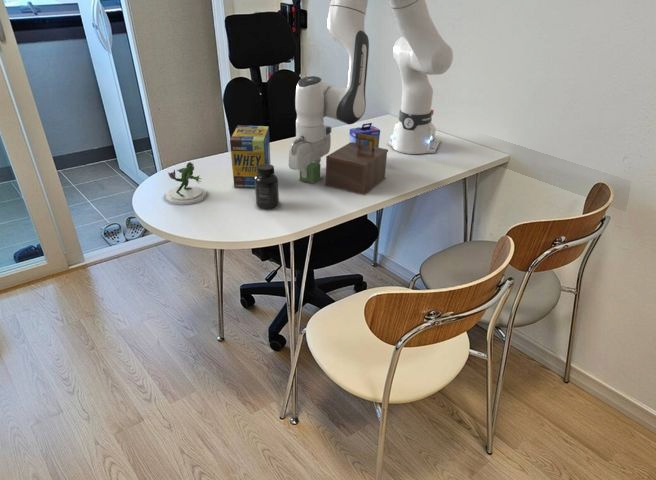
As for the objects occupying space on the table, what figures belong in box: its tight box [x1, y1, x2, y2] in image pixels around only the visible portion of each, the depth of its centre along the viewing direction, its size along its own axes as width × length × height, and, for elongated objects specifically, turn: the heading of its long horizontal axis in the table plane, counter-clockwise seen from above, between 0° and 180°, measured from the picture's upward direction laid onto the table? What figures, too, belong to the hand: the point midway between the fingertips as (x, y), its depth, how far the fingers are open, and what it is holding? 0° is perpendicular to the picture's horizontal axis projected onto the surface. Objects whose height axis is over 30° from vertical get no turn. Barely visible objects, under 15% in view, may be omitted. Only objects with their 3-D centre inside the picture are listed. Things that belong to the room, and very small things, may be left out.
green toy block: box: [299, 162, 322, 184], centre depth 163 cm, size 5×5×5 cm
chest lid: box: [325, 133, 389, 167], centre depth 157 cm, size 17×14×5 cm
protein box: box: [229, 124, 271, 189], centre depth 159 cm, size 10×15×16 cm
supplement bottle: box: [254, 163, 280, 211], centre depth 144 cm, size 7×7×12 cm
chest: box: [325, 152, 388, 196], centre depth 160 cm, size 16×14×9 cm
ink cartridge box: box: [348, 122, 381, 148], centre depth 174 cm, size 10×6×14 cm, turn 117°
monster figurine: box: [165, 161, 207, 206], centre depth 149 cm, size 12×12×10 cm
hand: (310, 174), depth 163 cm, fingers closed on green toy block, 5 cm apart
